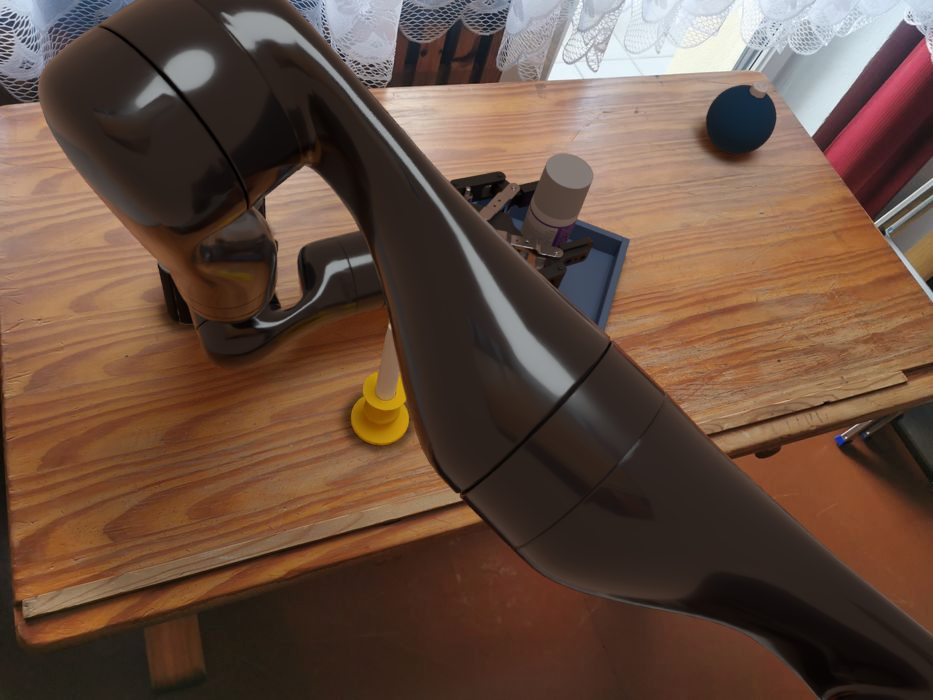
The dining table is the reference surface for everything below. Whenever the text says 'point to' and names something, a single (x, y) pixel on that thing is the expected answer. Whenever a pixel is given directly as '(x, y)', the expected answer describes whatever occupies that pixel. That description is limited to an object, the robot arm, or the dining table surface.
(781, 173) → the dining table surface
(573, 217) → the container
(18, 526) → the dining table surface
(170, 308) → the camera
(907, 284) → the dining table surface
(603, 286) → the tray
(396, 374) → the candle
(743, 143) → the christmas ornament
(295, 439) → the dining table surface
